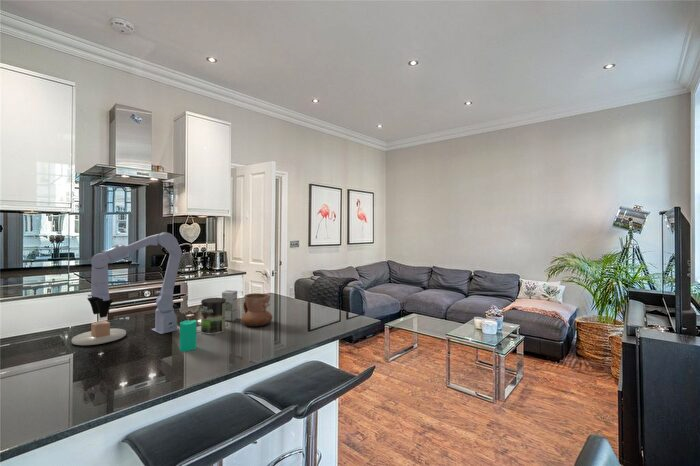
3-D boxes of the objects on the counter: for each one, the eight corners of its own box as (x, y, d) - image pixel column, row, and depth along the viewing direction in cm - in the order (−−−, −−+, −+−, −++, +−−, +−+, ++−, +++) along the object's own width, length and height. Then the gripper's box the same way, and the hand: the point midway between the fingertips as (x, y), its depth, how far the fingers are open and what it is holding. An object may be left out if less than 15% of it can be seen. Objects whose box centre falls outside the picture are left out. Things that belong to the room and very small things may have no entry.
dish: (133, 337, 140) (133, 334, 140) (80, 350, 125) (80, 346, 125) (116, 329, 150) (116, 325, 150) (65, 339, 136) (65, 336, 136)
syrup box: (237, 318, 171) (237, 290, 171) (232, 321, 165) (232, 292, 165) (226, 317, 172) (227, 289, 171) (221, 321, 166) (221, 292, 166)
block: (109, 334, 138) (110, 322, 138) (95, 338, 134) (95, 325, 134) (105, 332, 141) (105, 320, 141) (91, 335, 137) (91, 323, 137)
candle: (200, 347, 131) (200, 316, 131) (188, 352, 125) (188, 320, 125) (188, 344, 133) (188, 315, 132) (175, 350, 127) (176, 319, 127)
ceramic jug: (280, 324, 162) (280, 295, 162) (255, 331, 151) (255, 299, 151) (257, 318, 173) (257, 290, 173) (232, 324, 162) (232, 294, 162)
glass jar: (213, 336, 144) (213, 303, 144) (195, 332, 148) (195, 301, 147) (230, 329, 153) (230, 298, 153) (213, 326, 157) (213, 296, 157)
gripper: (82, 281, 138) (82, 314, 138) (94, 286, 130) (94, 320, 130) (102, 279, 144) (102, 310, 144) (115, 283, 135) (115, 316, 136)
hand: (100, 315), depth 137 cm, fingers open, 7 cm apart
